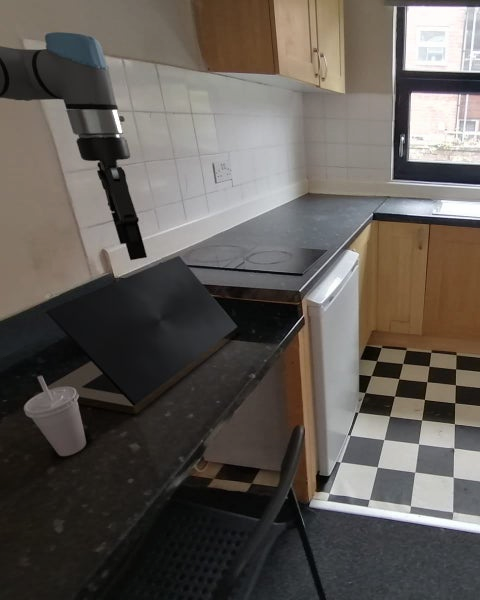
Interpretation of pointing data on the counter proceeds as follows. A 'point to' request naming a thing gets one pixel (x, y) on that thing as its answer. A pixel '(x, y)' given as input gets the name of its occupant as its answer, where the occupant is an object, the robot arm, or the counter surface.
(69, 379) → the laptop
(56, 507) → the counter surface
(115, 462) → the counter surface
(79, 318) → the laptop screen
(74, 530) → the counter surface
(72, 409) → the smoothie
